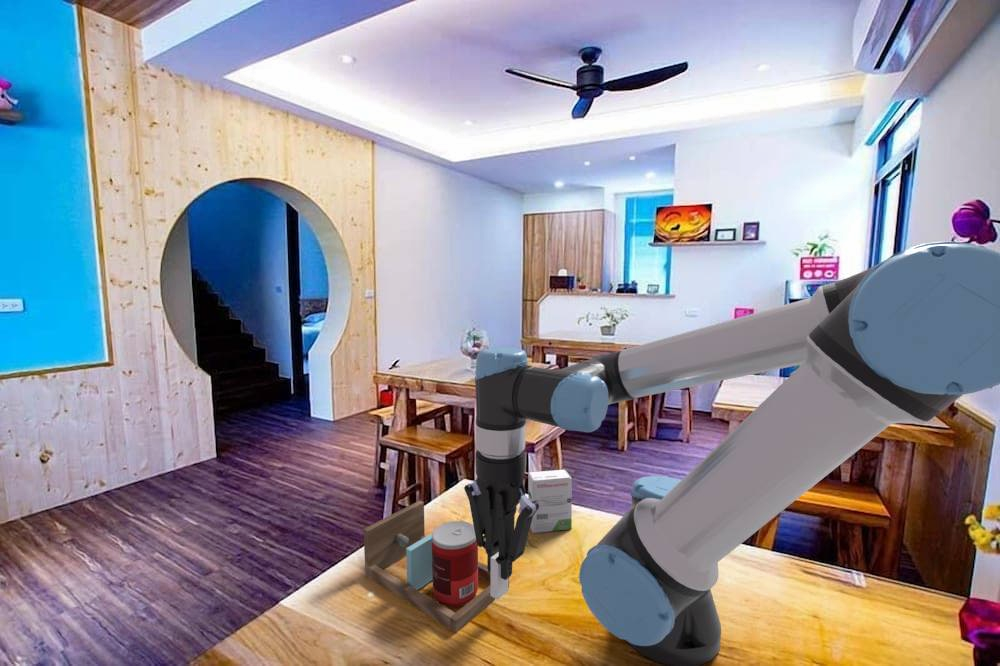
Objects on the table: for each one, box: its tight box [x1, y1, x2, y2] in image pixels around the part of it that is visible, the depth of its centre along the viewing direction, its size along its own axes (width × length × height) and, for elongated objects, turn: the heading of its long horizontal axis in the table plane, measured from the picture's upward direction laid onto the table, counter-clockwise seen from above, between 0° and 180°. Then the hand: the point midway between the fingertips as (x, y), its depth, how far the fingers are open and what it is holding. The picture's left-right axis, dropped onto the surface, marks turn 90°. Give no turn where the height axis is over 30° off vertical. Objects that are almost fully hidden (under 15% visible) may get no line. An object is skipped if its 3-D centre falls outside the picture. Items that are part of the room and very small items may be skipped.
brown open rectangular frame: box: [363, 500, 510, 634], centre depth 84 cm, size 22×13×9 cm, turn 52°
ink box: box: [527, 469, 573, 534], centre depth 102 cm, size 9×5×12 cm, turn 99°
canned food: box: [431, 520, 479, 608], centre depth 81 cm, size 8×8×11 cm
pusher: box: [405, 532, 433, 591], centre depth 85 cm, size 3×10×8 cm, turn 142°
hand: (499, 593), depth 75 cm, fingers closed
